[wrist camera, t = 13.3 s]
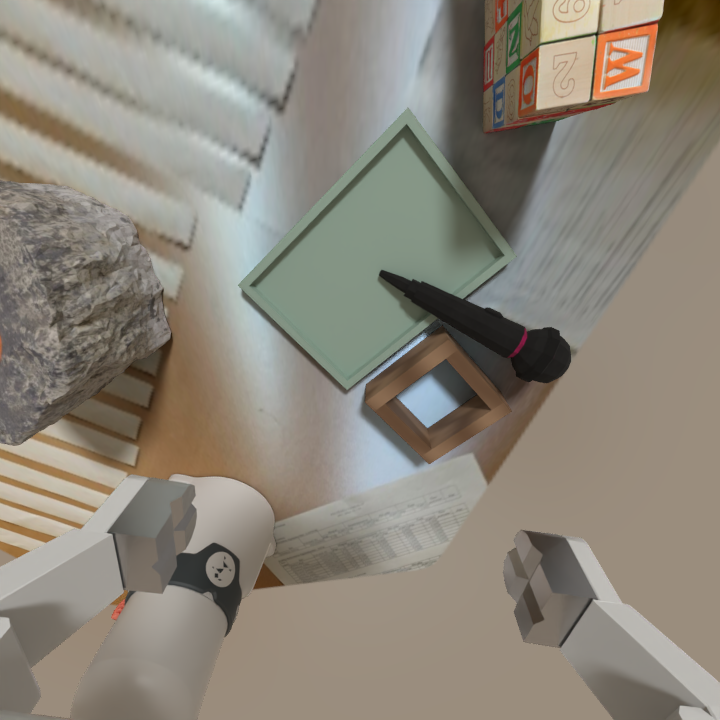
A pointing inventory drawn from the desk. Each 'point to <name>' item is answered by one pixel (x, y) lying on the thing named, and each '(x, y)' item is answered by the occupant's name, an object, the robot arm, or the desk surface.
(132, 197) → the desk surface
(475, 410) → the holder
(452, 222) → the tray
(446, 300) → the microphone
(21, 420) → the petrified wood
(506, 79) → the stack of blocks
